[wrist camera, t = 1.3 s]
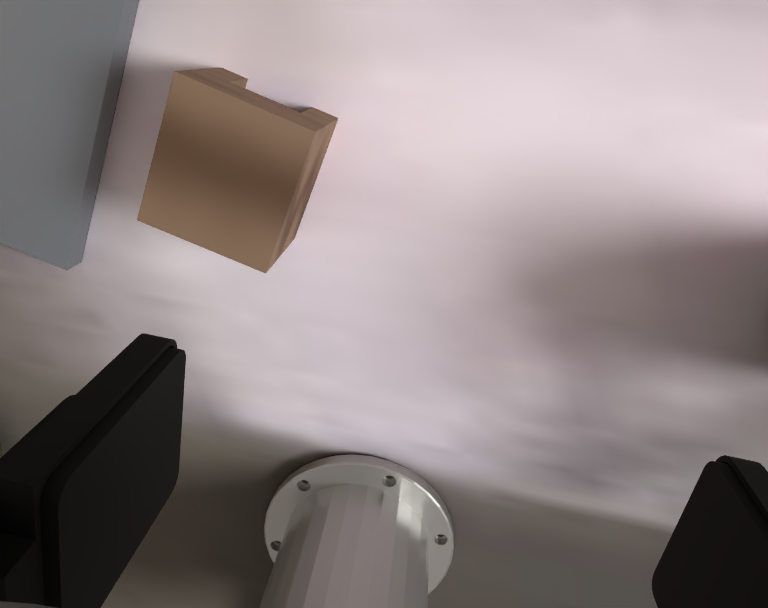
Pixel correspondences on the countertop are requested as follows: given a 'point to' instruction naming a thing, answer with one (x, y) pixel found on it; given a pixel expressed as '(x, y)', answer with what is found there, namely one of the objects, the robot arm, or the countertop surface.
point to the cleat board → (57, 118)
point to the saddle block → (233, 167)
